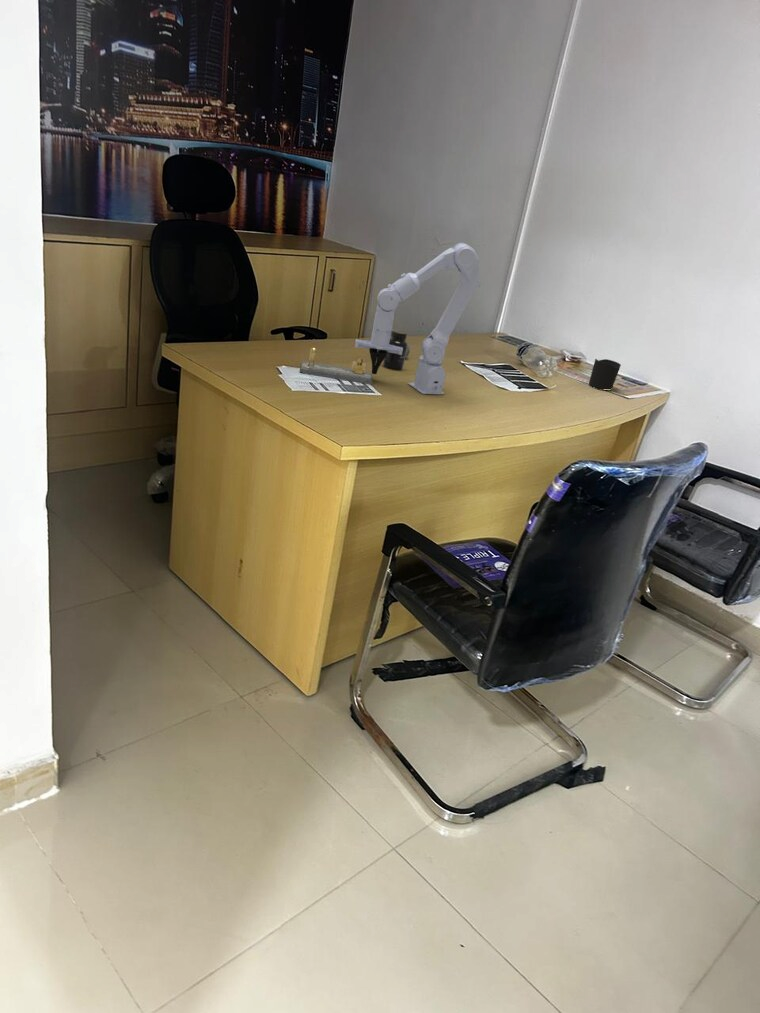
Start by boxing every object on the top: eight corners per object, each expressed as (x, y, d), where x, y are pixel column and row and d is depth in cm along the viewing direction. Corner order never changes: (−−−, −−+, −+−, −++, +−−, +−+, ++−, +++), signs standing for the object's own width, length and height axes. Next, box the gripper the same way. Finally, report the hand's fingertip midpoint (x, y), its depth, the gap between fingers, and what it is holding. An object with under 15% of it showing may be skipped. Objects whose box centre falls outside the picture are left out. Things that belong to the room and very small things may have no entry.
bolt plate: (370, 375, 229) (374, 354, 226) (371, 384, 220) (376, 362, 217) (301, 364, 227) (304, 342, 224) (300, 372, 218) (303, 349, 215)
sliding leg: (364, 371, 226) (366, 358, 224) (364, 377, 220) (367, 363, 218) (351, 369, 225) (353, 356, 223) (351, 375, 219) (354, 361, 217)
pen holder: (613, 393, 268) (622, 367, 264) (588, 387, 269) (596, 361, 265) (611, 387, 277) (619, 362, 273) (586, 381, 278) (594, 356, 274)
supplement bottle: (402, 371, 241) (409, 336, 236) (382, 368, 240) (389, 332, 235) (402, 366, 247) (409, 331, 242) (383, 363, 247) (389, 328, 242)
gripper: (358, 328, 214) (351, 372, 219) (406, 336, 215) (397, 380, 221) (358, 323, 220) (350, 366, 226) (404, 331, 222) (396, 374, 227)
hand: (374, 373), depth 224 cm, fingers closed
